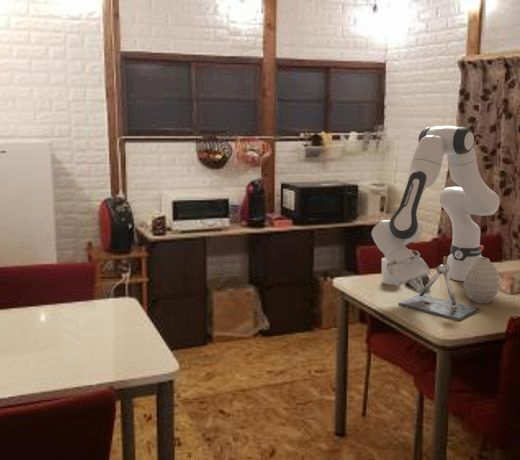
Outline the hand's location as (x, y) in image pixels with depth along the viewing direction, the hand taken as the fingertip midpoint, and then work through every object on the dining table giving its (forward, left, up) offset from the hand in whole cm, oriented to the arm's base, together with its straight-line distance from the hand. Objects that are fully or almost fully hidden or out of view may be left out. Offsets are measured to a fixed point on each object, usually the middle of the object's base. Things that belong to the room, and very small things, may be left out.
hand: (421, 290), depth 223 cm
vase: (-20, +13, -6) cm, 25 cm away
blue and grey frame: (-1, +6, -6) cm, 9 cm away
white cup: (-17, -25, -6) cm, 31 cm away
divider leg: (0, 0, -2) cm, 2 cm away
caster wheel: (-21, -14, -6) cm, 26 cm away
